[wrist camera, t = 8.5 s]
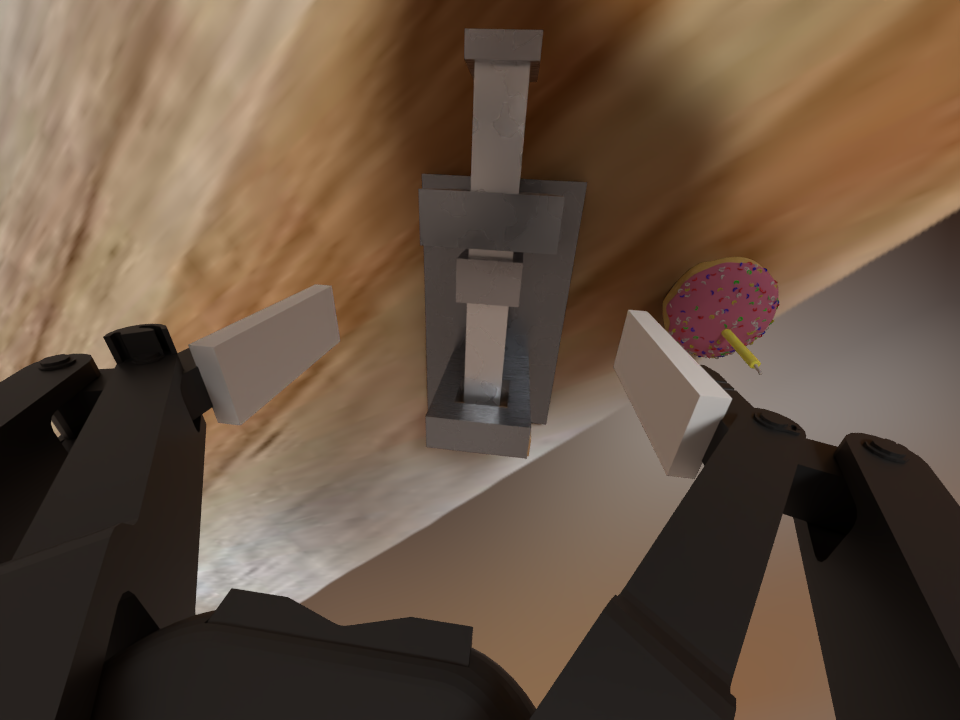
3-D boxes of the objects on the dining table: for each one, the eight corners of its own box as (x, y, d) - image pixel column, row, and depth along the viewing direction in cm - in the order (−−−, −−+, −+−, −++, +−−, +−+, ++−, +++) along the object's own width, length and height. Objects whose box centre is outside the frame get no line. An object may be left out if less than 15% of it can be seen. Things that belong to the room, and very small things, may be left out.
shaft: (471, 56, 21) (460, 26, 17) (542, 58, 21) (547, 28, 17) (462, 385, 32) (454, 412, 28) (508, 389, 32) (506, 418, 28)
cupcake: (720, 340, 34) (810, 409, 24) (635, 330, 35) (685, 393, 24) (760, 253, 30) (888, 288, 20) (662, 243, 31) (736, 272, 20)
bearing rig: (426, 174, 30) (364, 165, 18) (584, 182, 29) (627, 178, 17) (431, 404, 42) (394, 491, 30) (545, 416, 41) (554, 511, 29)
